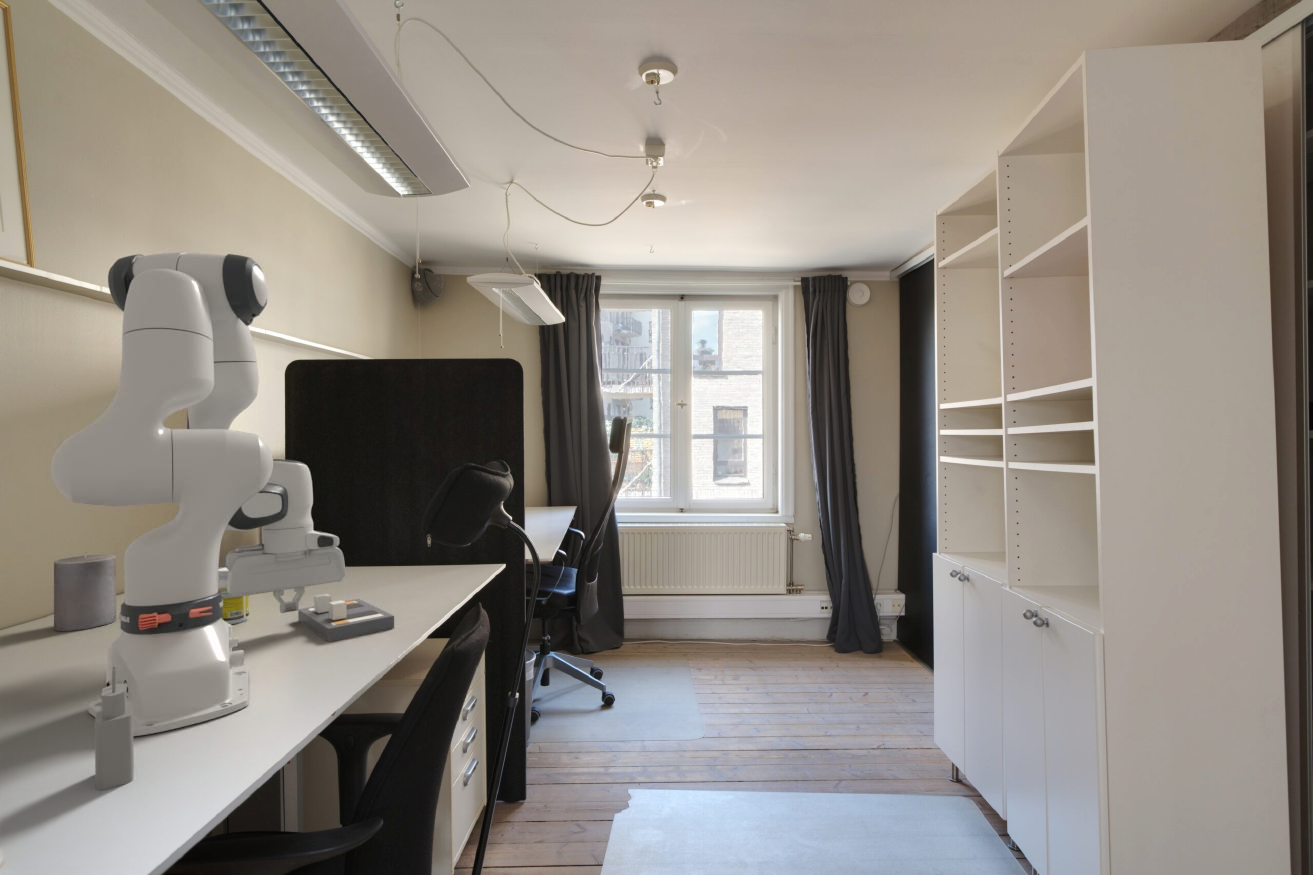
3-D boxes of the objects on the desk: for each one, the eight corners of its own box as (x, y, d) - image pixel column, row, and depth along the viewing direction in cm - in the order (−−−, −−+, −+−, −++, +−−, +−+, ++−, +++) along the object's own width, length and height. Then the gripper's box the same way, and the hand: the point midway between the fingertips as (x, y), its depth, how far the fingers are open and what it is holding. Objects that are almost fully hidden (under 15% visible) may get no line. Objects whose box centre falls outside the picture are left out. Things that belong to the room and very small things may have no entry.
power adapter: (133, 762, 74) (132, 658, 74) (133, 781, 69) (131, 671, 69) (97, 771, 72) (96, 664, 72) (95, 792, 67) (93, 678, 67)
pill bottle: (230, 617, 136) (229, 565, 136) (256, 617, 136) (255, 565, 136) (205, 625, 130) (205, 571, 130) (233, 626, 129) (232, 571, 129)
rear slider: (331, 610, 130) (330, 595, 130) (318, 613, 128) (318, 598, 128) (327, 608, 132) (327, 593, 132) (314, 610, 130) (314, 595, 130)
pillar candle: (65, 622, 135) (64, 550, 135) (123, 615, 139) (122, 546, 139) (44, 634, 126) (43, 558, 126) (107, 627, 130) (106, 553, 130)
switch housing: (394, 627, 126) (394, 615, 126) (328, 641, 118) (328, 628, 118) (358, 609, 141) (358, 598, 141) (298, 620, 132) (298, 608, 132)
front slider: (346, 617, 125) (346, 602, 125) (333, 620, 123) (332, 604, 123) (342, 615, 126) (341, 600, 126) (328, 617, 125) (328, 602, 125)
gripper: (228, 549, 117) (229, 625, 117) (347, 536, 131) (348, 604, 131) (222, 546, 121) (223, 619, 121) (337, 533, 135) (338, 599, 135)
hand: (289, 611), depth 126 cm, fingers closed
